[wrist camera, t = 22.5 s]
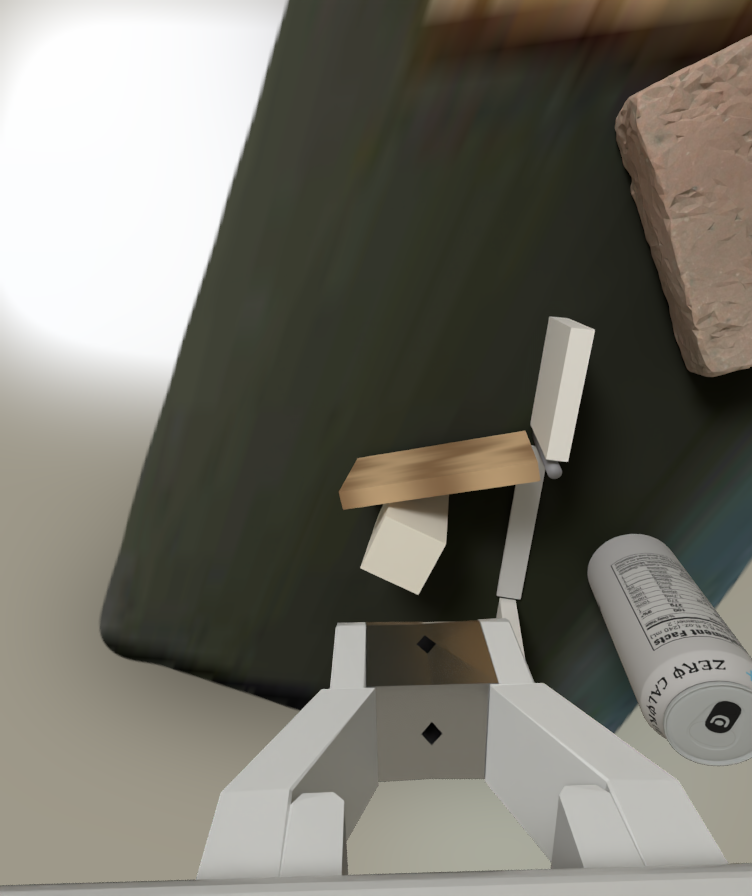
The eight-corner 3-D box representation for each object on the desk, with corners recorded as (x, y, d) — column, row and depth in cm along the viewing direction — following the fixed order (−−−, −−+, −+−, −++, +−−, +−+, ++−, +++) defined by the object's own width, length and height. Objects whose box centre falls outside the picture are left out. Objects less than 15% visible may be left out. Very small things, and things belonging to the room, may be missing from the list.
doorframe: (544, 316, 35) (565, 327, 28) (573, 318, 35) (601, 330, 28) (483, 666, 44) (487, 741, 37) (506, 670, 44) (514, 746, 37)
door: (525, 430, 37) (537, 461, 31) (529, 460, 38) (542, 496, 32) (357, 458, 40) (338, 492, 34) (364, 485, 40) (346, 524, 34)
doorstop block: (399, 470, 40) (385, 515, 33) (449, 492, 40) (446, 543, 33) (378, 514, 42) (360, 567, 34) (426, 536, 42) (418, 594, 34)
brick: (825, 325, 33) (880, 332, 29) (682, 376, 36) (713, 390, 31) (759, 40, 30) (811, -1, 25) (604, 116, 32) (627, 90, 28)
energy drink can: (572, 586, 41) (630, 752, 27) (603, 517, 39) (683, 656, 25) (651, 610, 41) (751, 791, 26) (686, 542, 39) (816, 698, 24)
